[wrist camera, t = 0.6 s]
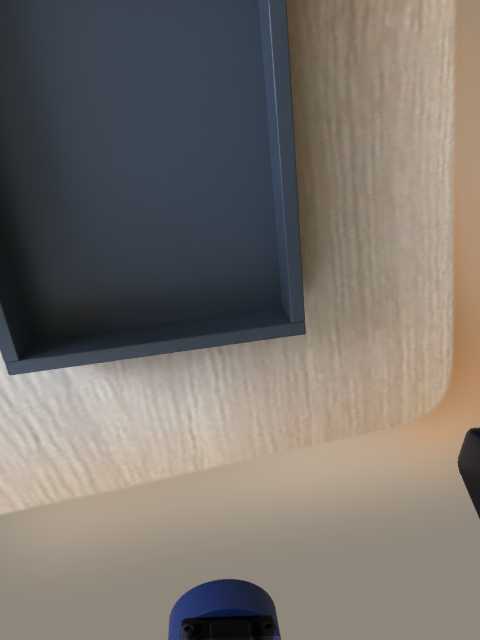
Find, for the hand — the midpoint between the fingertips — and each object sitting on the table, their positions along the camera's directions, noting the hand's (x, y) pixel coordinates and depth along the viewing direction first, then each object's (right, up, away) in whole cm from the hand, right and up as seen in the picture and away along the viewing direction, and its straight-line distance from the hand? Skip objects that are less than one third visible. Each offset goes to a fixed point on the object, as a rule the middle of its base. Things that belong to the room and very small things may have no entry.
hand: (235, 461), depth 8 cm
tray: (-4, +9, +9) cm, 14 cm away
